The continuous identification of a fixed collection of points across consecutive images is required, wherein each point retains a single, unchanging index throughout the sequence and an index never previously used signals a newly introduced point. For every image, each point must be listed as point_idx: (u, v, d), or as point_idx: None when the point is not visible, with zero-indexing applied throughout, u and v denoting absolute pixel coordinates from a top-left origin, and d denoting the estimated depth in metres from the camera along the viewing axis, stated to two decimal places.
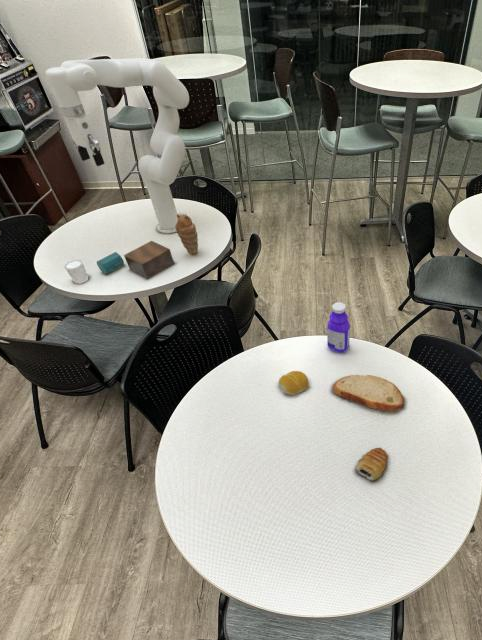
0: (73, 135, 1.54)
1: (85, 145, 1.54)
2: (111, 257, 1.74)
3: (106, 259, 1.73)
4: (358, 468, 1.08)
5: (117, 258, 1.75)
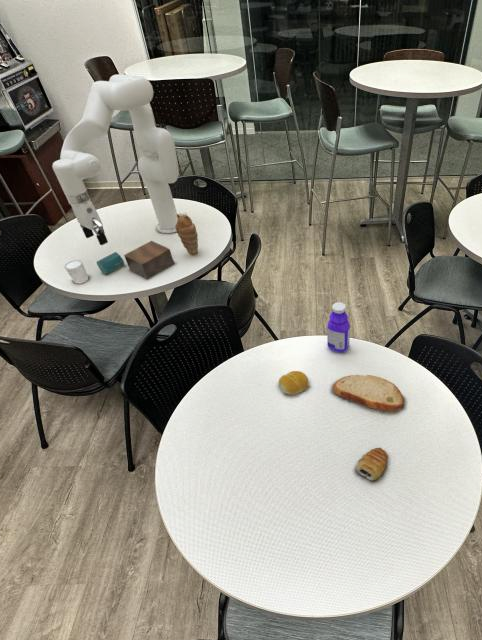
0: (78, 217, 1.60)
1: (89, 227, 1.60)
2: (111, 257, 1.74)
3: (106, 259, 1.73)
4: (358, 468, 1.08)
5: (117, 258, 1.75)
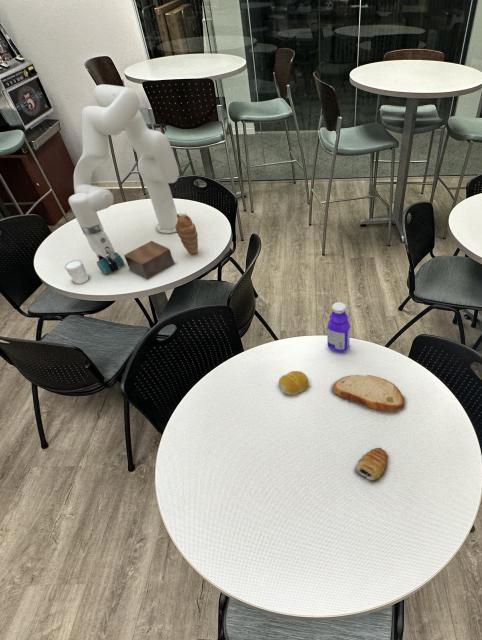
0: (92, 246, 1.69)
1: (103, 255, 1.69)
2: None
3: None
4: (358, 468, 1.08)
5: (117, 258, 1.75)
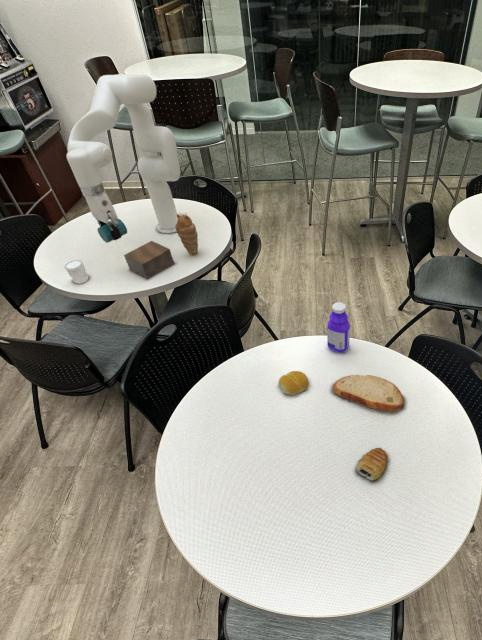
0: (92, 210, 1.54)
1: (104, 220, 1.54)
2: None
3: None
4: (358, 468, 1.08)
5: (120, 225, 1.60)
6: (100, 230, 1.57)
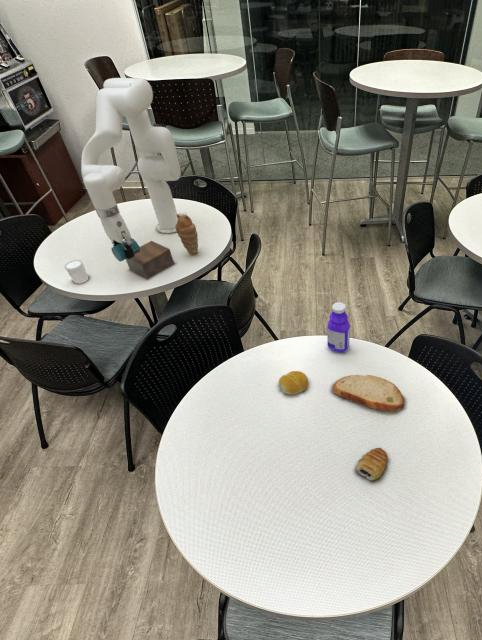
0: (107, 231, 1.58)
1: (118, 240, 1.58)
2: None
3: (121, 245, 1.62)
4: (358, 468, 1.08)
5: (133, 244, 1.65)
6: (114, 249, 1.62)
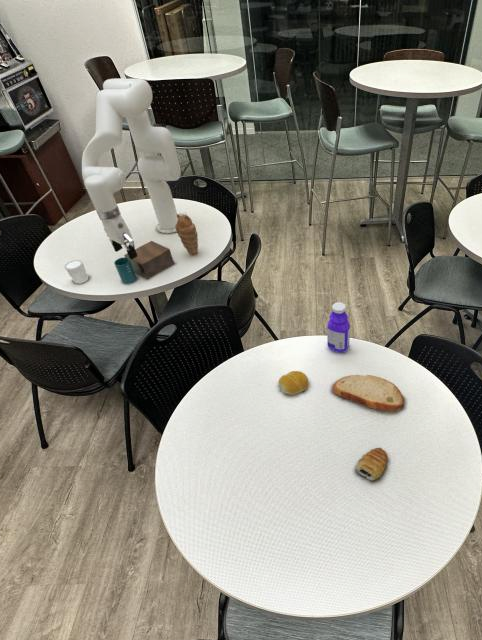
0: (108, 232, 1.59)
1: (120, 242, 1.59)
2: (121, 272, 1.67)
3: (122, 277, 1.69)
4: (358, 468, 1.08)
5: (123, 269, 1.66)
6: None
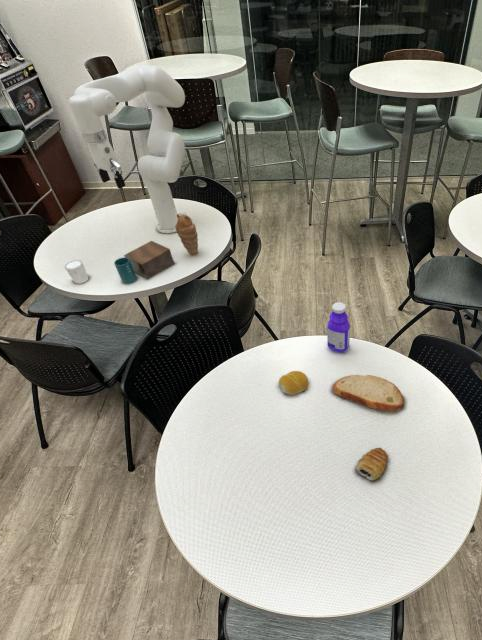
0: (95, 159, 1.57)
1: (107, 169, 1.57)
2: (121, 272, 1.67)
3: (122, 277, 1.69)
4: (358, 468, 1.08)
5: (123, 269, 1.66)
6: None
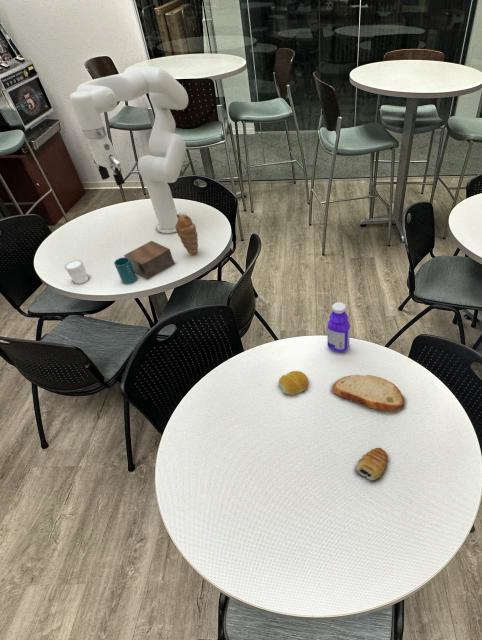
0: (94, 156, 1.57)
1: (106, 165, 1.57)
2: (121, 272, 1.67)
3: (122, 277, 1.69)
4: (358, 468, 1.08)
5: (123, 269, 1.66)
6: None
